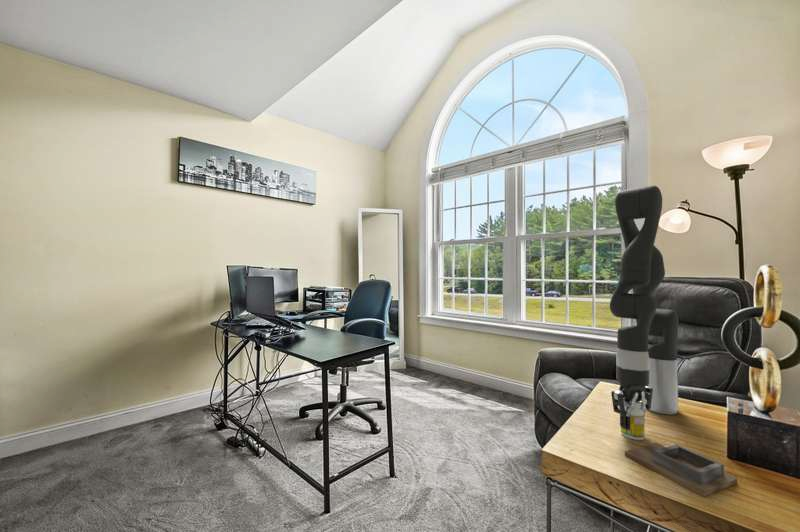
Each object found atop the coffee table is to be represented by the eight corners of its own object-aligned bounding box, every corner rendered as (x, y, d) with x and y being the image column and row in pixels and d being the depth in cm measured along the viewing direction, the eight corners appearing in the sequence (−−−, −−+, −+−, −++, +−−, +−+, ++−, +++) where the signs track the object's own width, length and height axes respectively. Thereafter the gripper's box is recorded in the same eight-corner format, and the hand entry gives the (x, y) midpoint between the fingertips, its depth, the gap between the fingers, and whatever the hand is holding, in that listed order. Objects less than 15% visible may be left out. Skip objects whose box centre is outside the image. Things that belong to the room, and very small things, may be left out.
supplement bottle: (649, 440, 89) (649, 404, 89) (629, 440, 89) (629, 404, 89) (635, 431, 94) (635, 397, 94) (616, 430, 94) (616, 396, 94)
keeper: (656, 446, 86) (656, 432, 86) (736, 483, 71) (736, 466, 71) (624, 455, 82) (624, 441, 82) (704, 496, 67) (704, 479, 67)
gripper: (635, 359, 98) (635, 417, 98) (601, 364, 93) (601, 425, 92) (663, 366, 91) (663, 428, 91) (628, 371, 86) (628, 437, 85)
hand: (632, 426), depth 92 cm, fingers closed on supplement bottle, 5 cm apart
